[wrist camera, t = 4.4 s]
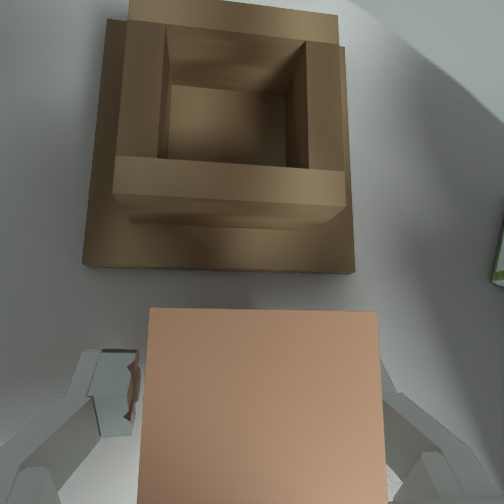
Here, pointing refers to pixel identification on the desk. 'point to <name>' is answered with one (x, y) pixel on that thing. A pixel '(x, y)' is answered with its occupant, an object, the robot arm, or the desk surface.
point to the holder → (221, 141)
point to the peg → (262, 408)
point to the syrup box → (499, 262)
